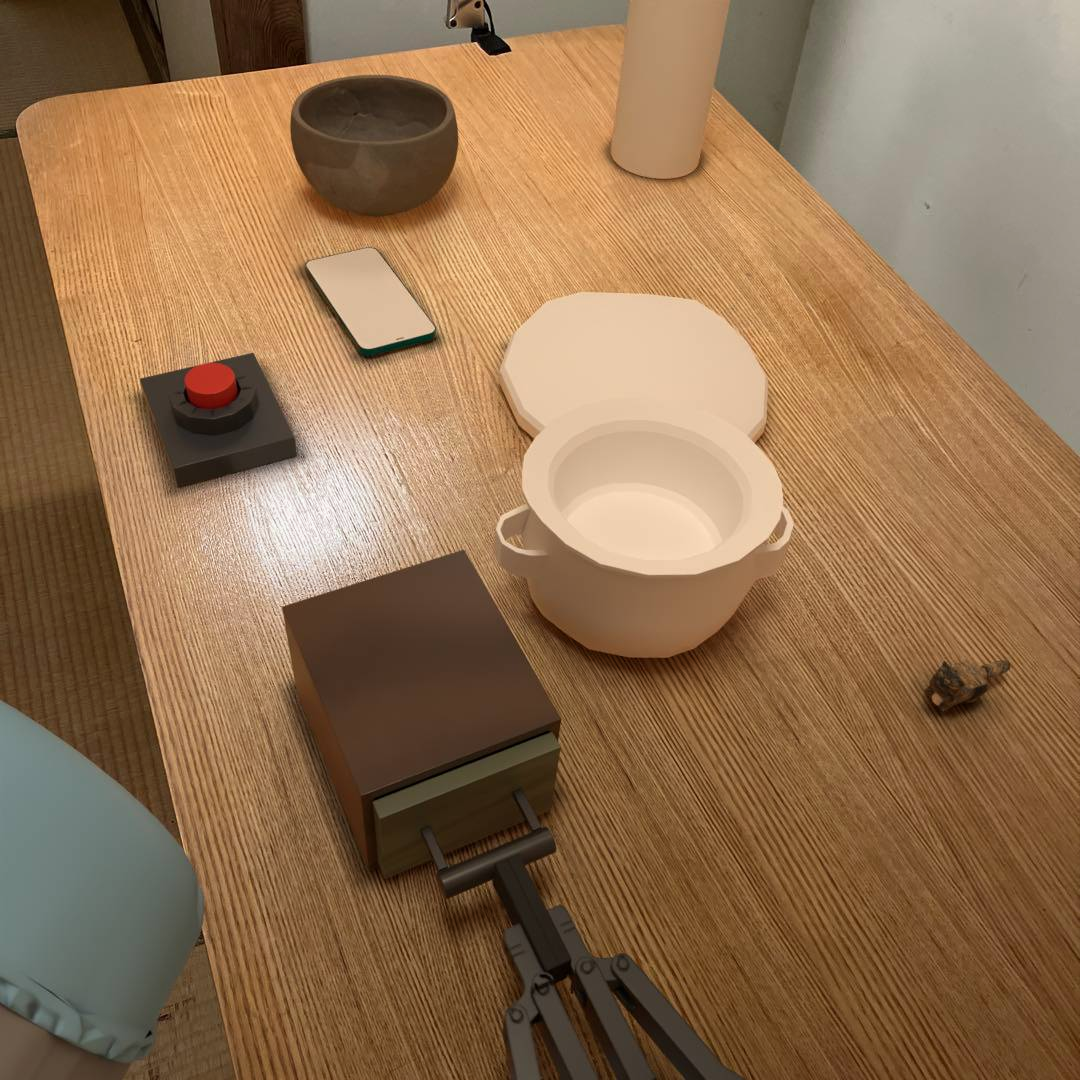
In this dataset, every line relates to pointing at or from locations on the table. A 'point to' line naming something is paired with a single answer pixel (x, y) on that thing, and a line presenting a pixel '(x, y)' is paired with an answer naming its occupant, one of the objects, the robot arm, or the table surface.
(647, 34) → the tall pillar cylinder
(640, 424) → the pot
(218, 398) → the button
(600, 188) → the table surface
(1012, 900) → the table surface
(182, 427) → the button block
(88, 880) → the robot arm
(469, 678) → the cabinet
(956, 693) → the cat figurine
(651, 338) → the decorative plate
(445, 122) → the bowl
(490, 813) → the drawer
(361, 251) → the smartphone
